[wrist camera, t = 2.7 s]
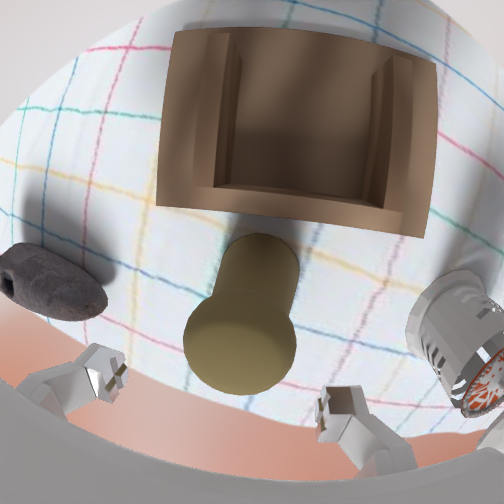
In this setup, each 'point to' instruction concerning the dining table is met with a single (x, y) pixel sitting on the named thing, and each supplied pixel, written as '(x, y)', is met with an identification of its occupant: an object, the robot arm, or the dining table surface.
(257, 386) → the cork
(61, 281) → the perforated stone tool
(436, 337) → the french press
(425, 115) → the u rest
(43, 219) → the dining table surface
